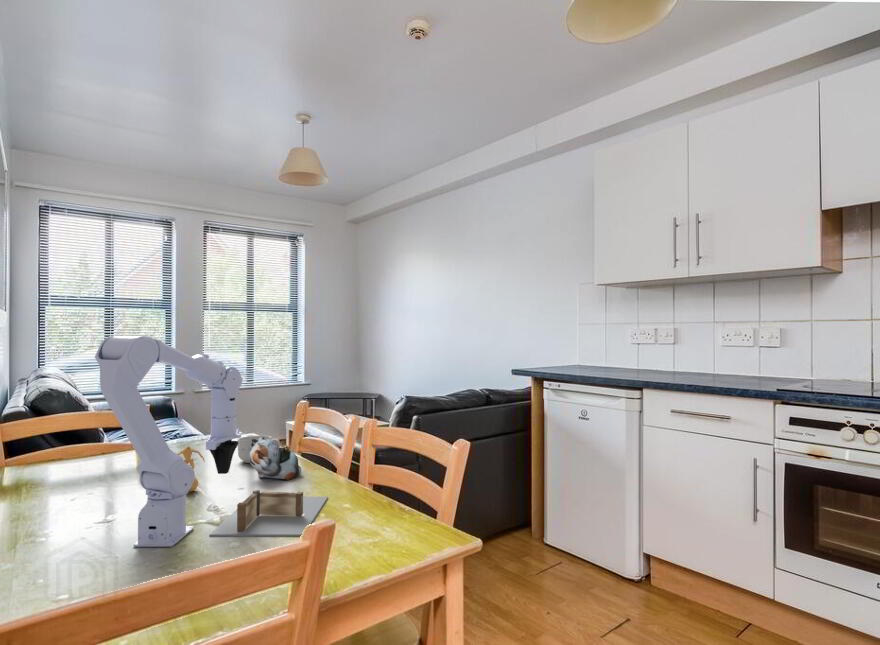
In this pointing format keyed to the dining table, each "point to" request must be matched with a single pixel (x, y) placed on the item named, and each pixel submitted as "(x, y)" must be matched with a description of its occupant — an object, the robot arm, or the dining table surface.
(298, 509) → the post
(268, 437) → the teacup
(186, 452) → the figurine
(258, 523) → the card
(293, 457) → the lucky cat figurine
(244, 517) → the fixed fence section
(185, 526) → the robot arm
